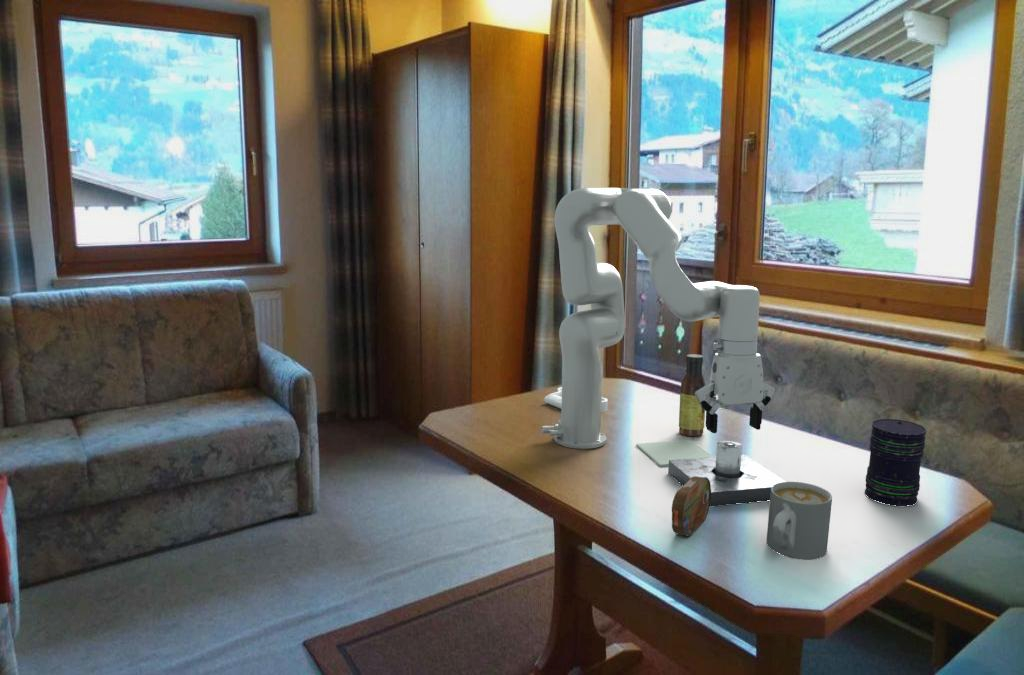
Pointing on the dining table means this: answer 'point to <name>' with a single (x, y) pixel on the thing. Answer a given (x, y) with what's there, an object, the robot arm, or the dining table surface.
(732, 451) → the aluminium plug
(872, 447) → the storage jar
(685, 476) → the plate
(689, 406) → the sauce bottle
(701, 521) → the tin
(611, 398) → the dining table surface
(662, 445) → the sage mat
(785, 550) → the coffee mug
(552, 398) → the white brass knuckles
